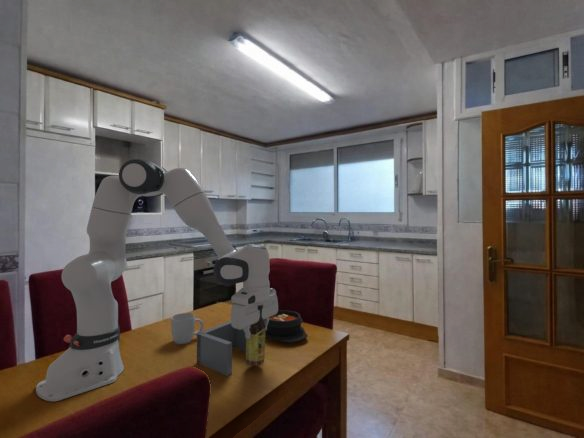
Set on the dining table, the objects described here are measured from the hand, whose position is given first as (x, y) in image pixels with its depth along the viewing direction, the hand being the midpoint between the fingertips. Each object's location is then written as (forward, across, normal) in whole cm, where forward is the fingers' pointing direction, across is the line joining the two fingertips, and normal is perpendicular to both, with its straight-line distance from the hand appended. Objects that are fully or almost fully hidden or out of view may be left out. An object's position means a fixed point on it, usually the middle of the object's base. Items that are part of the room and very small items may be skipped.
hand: (256, 334), depth 103 cm
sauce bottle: (+10, 0, 0) cm, 10 cm away
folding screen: (+11, 0, -11) cm, 15 cm away
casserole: (+12, -28, -10) cm, 32 cm away
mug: (+11, -1, -38) cm, 39 cm away
